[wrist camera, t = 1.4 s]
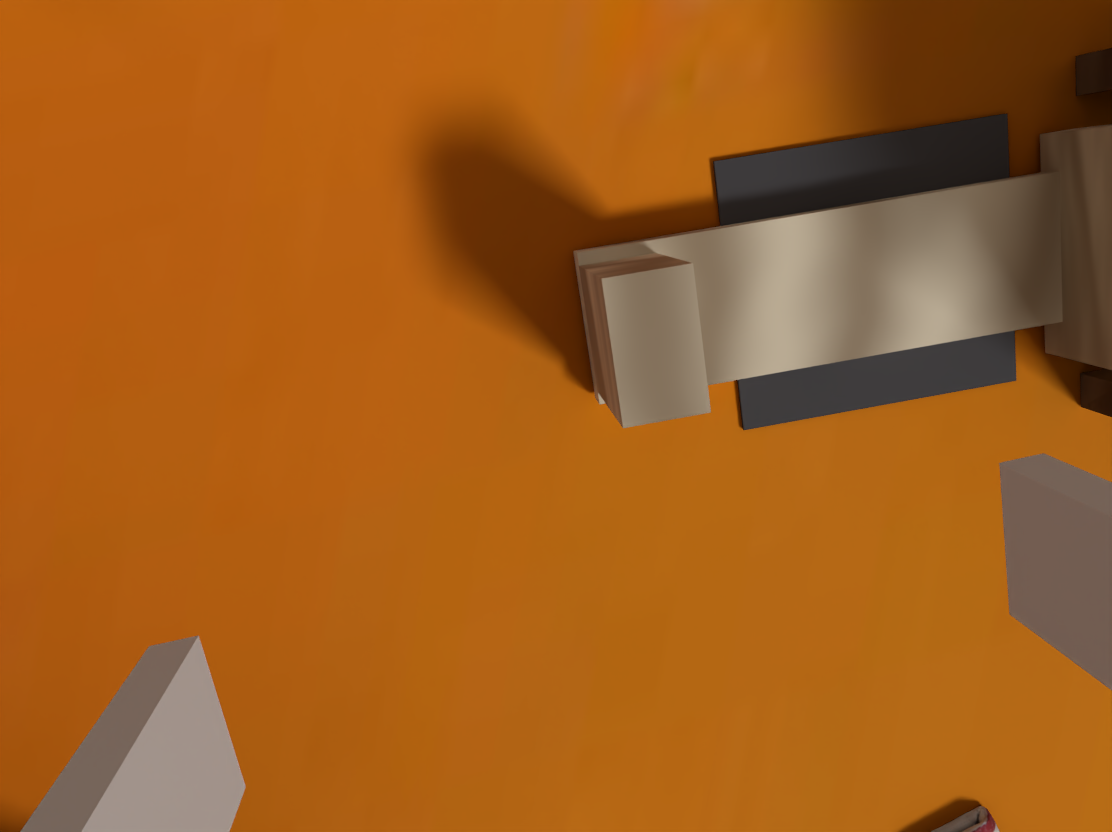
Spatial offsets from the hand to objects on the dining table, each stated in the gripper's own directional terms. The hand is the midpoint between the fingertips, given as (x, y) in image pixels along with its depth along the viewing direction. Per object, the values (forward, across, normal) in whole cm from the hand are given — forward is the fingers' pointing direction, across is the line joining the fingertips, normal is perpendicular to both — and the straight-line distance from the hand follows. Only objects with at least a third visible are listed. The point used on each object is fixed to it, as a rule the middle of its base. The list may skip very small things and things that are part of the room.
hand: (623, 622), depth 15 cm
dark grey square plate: (+23, +15, +1) cm, 27 cm away
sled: (+23, +13, +1) cm, 26 cm away
